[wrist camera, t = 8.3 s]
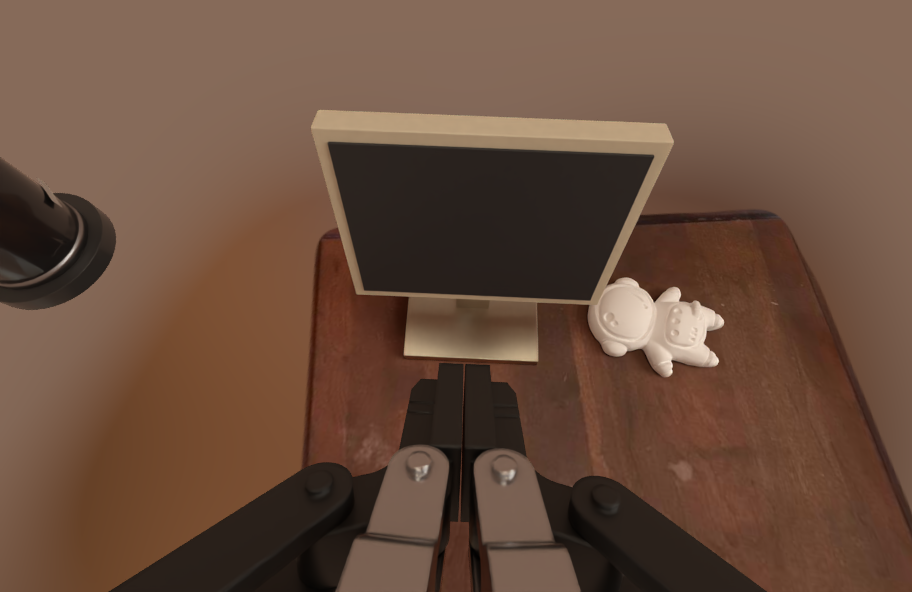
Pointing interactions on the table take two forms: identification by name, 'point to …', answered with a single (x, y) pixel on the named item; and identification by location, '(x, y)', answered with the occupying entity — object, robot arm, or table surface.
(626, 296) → the astronaut figurine
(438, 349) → the monitor stand
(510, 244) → the monitor screen
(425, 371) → the table surface
